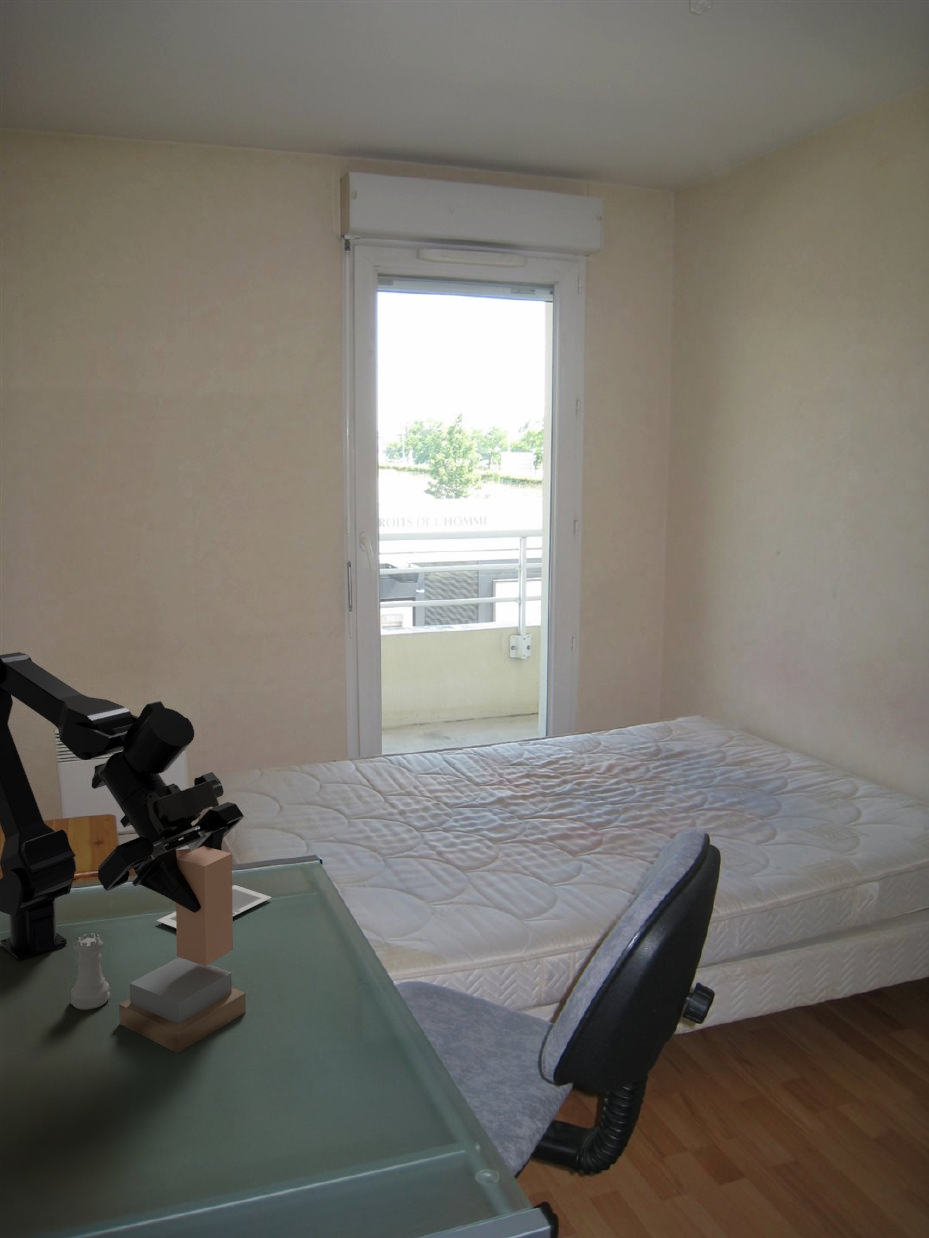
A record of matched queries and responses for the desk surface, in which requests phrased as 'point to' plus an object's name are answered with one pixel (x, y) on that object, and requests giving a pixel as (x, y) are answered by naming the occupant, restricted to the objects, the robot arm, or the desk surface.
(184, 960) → the tower top
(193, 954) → the pillar
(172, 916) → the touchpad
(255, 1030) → the desk surface
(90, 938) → the rook chess piece
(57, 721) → the robot arm
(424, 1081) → the desk surface
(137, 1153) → the desk surface
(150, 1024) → the tower base
